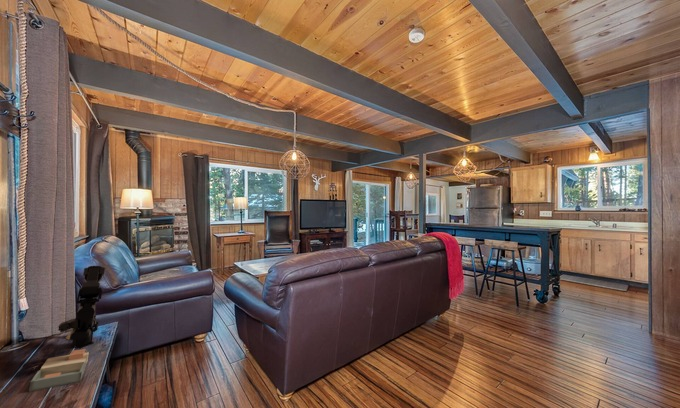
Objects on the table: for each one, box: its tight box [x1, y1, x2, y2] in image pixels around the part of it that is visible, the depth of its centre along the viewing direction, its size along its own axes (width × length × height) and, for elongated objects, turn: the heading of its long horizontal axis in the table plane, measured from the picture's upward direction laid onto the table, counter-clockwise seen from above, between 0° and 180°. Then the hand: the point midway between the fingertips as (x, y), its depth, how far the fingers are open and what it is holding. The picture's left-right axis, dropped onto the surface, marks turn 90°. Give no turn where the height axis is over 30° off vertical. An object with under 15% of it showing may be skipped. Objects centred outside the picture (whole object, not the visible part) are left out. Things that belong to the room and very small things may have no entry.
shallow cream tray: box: [39, 351, 90, 378], centre depth 113 cm, size 9×13×4 cm
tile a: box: [68, 348, 86, 360], centre depth 116 cm, size 4×4×2 cm
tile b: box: [44, 372, 61, 378], centre depth 104 cm, size 4×4×2 cm
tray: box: [28, 363, 87, 393], centre depth 106 cm, size 8×14×4 cm, turn 125°
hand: (81, 346), depth 123 cm, fingers closed
